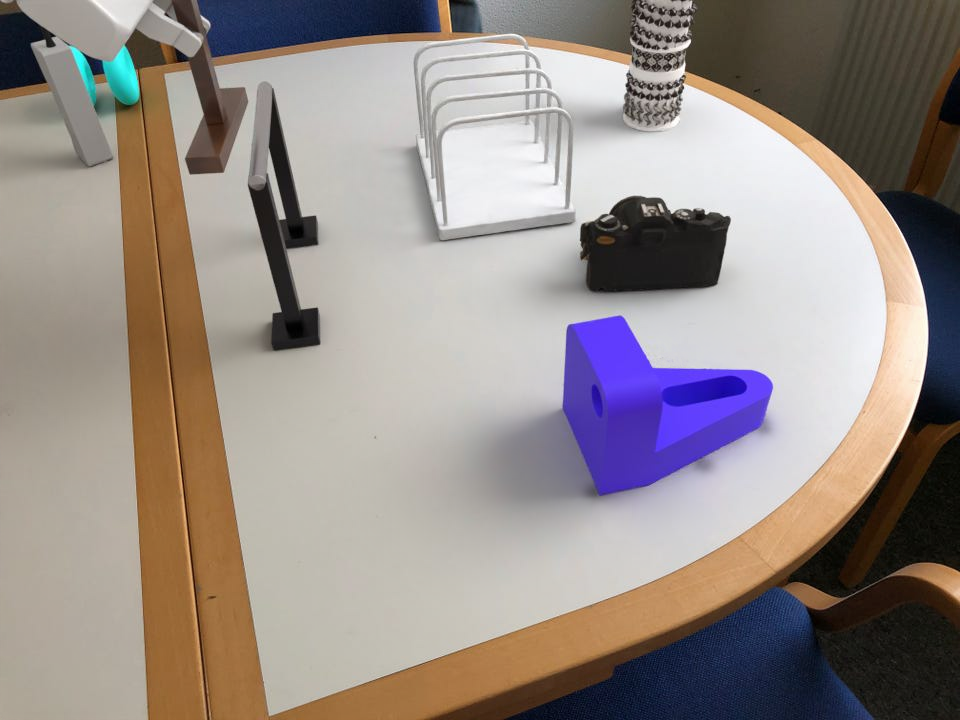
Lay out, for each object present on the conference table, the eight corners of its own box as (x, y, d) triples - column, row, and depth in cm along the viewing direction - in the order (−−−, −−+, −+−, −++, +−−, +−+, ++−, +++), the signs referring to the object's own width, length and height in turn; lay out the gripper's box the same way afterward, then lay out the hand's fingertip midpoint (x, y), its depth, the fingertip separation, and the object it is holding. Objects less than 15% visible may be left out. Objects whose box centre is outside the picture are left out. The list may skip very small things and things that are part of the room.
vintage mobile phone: (101, 147, 120) (32, -29, 103) (114, 159, 117) (44, -20, 100) (77, 155, 118) (2, -22, 101) (89, 168, 115) (14, -13, 98)
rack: (273, 350, 85) (226, 187, 71) (278, 227, 102) (241, 77, 88) (320, 344, 85) (282, 181, 72) (317, 223, 102) (286, 73, 89)
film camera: (681, 224, 99) (692, 151, 92) (737, 279, 91) (754, 204, 84) (550, 257, 95) (552, 183, 88) (596, 318, 86) (602, 242, 80)
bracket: (599, 495, 69) (609, 401, 61) (562, 407, 77) (567, 314, 69) (789, 455, 72) (823, 359, 64) (735, 374, 79) (758, 280, 71)
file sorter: (416, 146, 116) (405, 39, 106) (532, 132, 118) (533, 26, 108) (440, 241, 98) (430, 124, 88) (576, 224, 100) (582, 106, 89)
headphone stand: (189, 175, 69) (123, -35, 57) (218, 103, 79) (167, -87, 68) (280, 170, 69) (233, -40, 57) (297, 99, 79) (261, -91, 68)
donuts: (81, 97, 133) (57, 37, 126) (142, 88, 135) (122, 29, 128) (75, 123, 126) (49, 61, 119) (140, 113, 128) (119, 52, 121)
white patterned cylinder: (683, 107, 122) (710, -71, 105) (679, 135, 116) (706, -50, 99) (624, 102, 124) (640, -73, 107) (617, 130, 118) (633, -53, 101)
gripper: (66, -82, 70) (206, 24, 77) (-29, -2, 55) (156, 121, 62) (98, -143, 67) (241, -27, 74) (8, -76, 52) (198, 61, 59)
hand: (202, 41), depth 68 cm, fingers closed on headphone stand
